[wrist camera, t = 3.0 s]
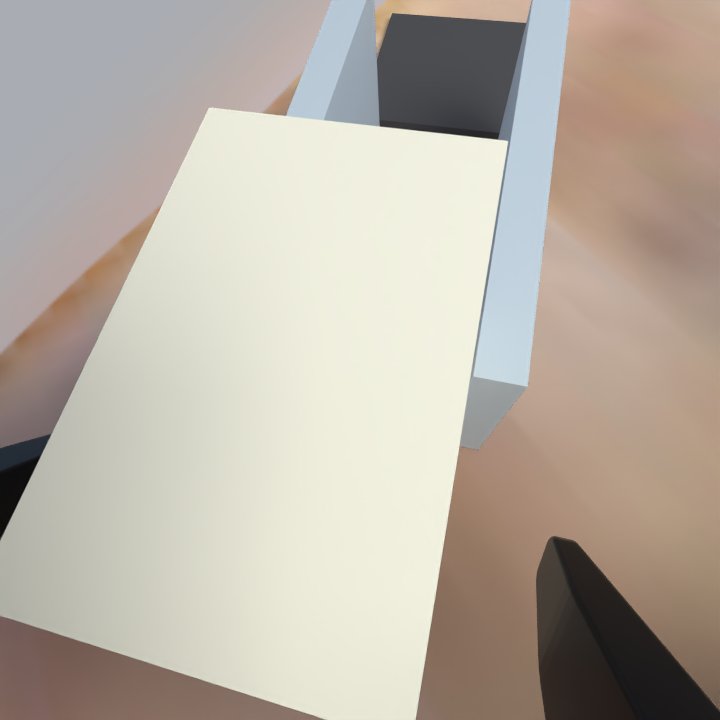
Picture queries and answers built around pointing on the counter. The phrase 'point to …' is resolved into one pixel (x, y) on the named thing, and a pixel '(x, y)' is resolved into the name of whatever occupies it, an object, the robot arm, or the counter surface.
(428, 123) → the mat
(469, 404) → the channel
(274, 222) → the block
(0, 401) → the counter surface
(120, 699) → the counter surface
